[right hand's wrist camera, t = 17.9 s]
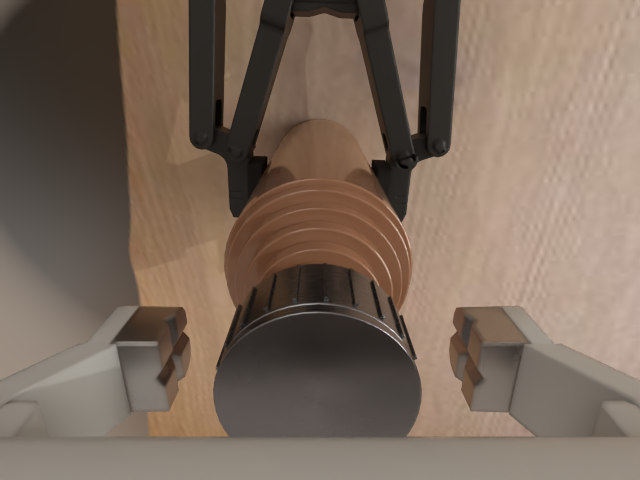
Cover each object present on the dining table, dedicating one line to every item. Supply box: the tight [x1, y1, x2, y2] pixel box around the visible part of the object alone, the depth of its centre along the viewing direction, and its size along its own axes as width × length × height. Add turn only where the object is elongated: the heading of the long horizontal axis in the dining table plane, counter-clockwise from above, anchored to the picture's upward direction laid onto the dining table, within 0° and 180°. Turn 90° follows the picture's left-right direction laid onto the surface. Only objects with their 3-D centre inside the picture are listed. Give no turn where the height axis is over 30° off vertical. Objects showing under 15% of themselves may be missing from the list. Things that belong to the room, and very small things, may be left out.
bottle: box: [224, 119, 412, 312], centre depth 19 cm, size 6×6×23 cm
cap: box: [213, 263, 422, 437], centre depth 9 cm, size 4×4×2 cm
